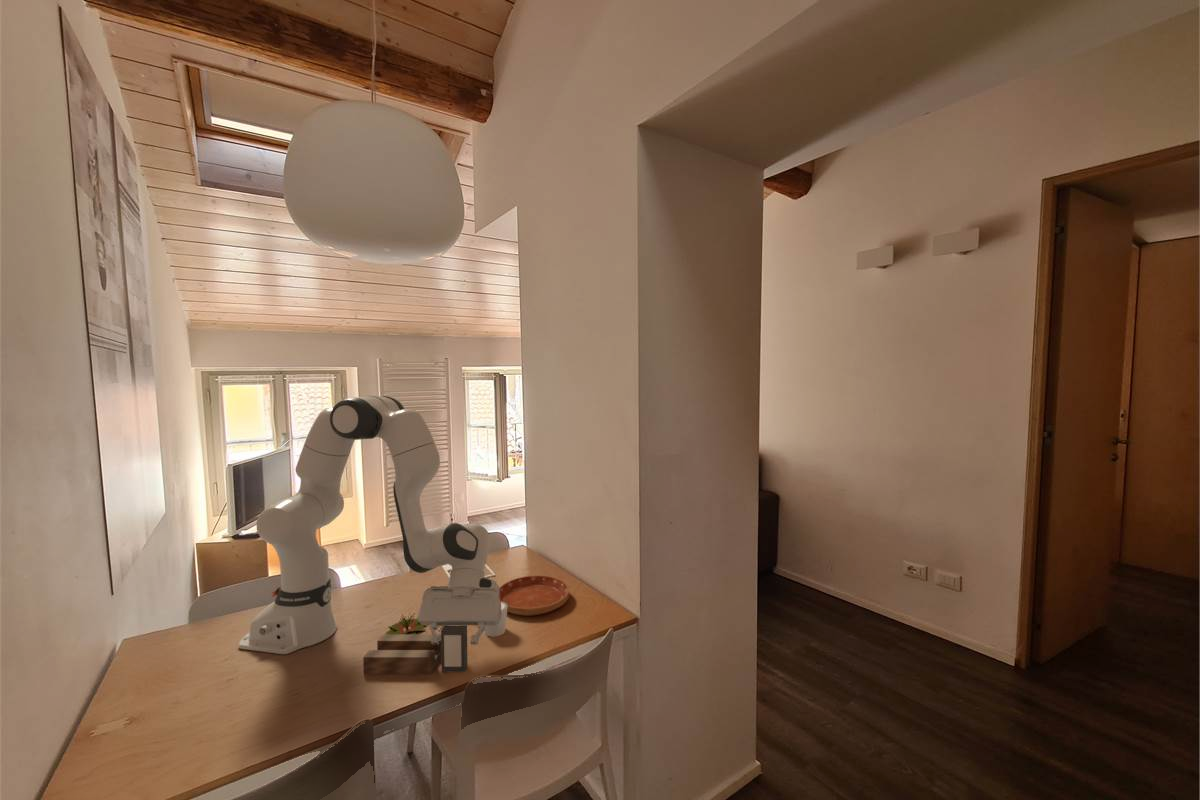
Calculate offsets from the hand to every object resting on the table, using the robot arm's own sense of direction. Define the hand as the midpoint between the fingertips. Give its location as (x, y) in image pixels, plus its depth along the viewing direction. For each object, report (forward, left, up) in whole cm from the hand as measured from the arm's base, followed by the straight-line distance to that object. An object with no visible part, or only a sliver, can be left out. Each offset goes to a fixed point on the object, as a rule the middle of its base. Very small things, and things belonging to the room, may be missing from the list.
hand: (454, 644), depth 113 cm
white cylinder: (+6, +17, -6) cm, 19 cm away
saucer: (+14, +35, -7) cm, 39 cm away
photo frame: (-13, +58, -7) cm, 60 cm away
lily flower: (-19, +18, -7) cm, 27 cm away
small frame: (0, 0, -6) cm, 6 cm away
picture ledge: (-13, +3, -6) cm, 15 cm away
